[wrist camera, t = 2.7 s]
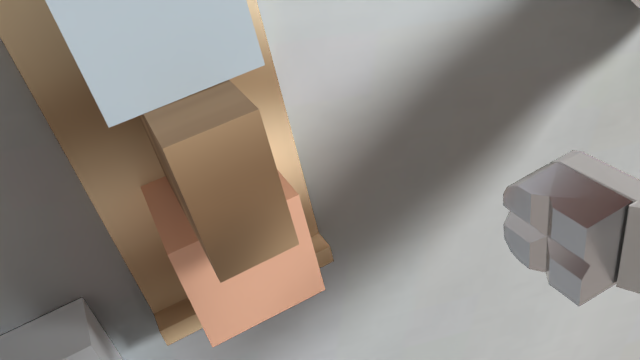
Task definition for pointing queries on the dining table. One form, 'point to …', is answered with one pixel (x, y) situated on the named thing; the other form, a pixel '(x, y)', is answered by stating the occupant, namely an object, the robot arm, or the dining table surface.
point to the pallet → (130, 155)
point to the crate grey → (155, 49)
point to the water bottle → (636, 2)
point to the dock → (60, 337)
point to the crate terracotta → (245, 288)
